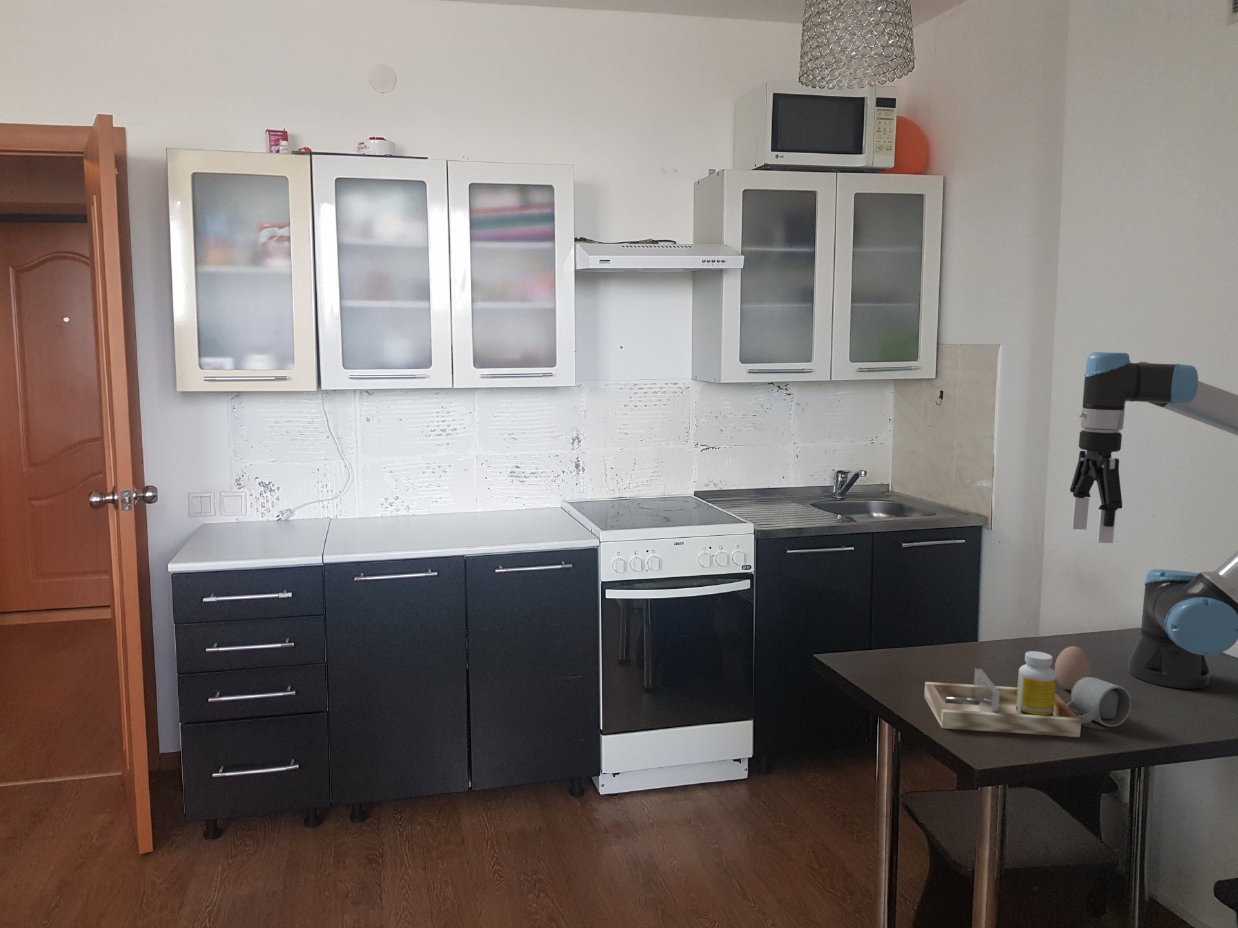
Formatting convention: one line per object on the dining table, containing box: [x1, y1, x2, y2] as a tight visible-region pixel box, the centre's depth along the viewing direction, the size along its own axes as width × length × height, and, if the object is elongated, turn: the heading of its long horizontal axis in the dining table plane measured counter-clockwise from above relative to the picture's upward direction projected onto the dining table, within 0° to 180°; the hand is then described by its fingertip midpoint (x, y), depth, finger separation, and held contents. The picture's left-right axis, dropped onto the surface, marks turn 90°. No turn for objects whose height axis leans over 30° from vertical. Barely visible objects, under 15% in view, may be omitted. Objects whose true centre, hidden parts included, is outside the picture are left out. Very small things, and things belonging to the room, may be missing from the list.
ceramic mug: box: [1065, 676, 1132, 728], centre depth 179 cm, size 11×8×8 cm
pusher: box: [945, 668, 1000, 713], centre depth 180 cm, size 8×12×6 cm, turn 174°
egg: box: [1054, 645, 1092, 692], centre depth 194 cm, size 7×7×9 cm
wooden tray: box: [923, 681, 1082, 738], centre depth 180 cm, size 24×15×3 cm, turn 84°
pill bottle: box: [1016, 650, 1057, 716], centre depth 179 cm, size 6×6×12 cm
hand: (1091, 535), depth 193 cm, fingers open, 13 cm apart
